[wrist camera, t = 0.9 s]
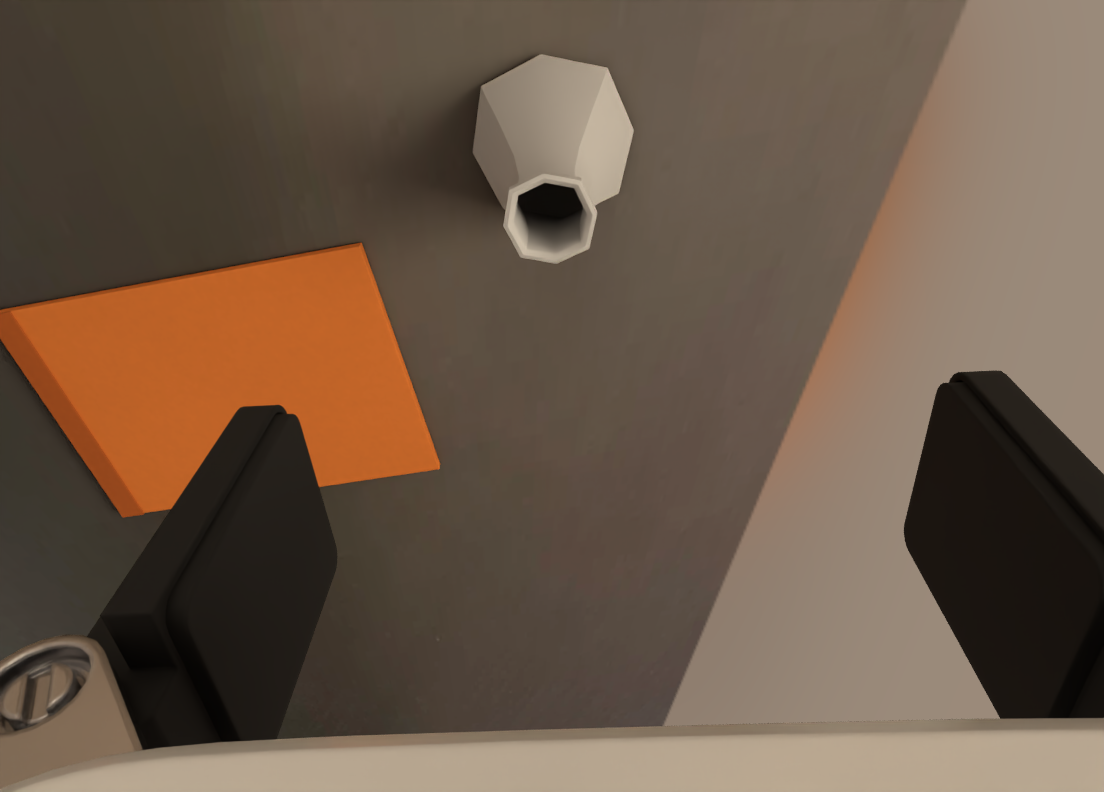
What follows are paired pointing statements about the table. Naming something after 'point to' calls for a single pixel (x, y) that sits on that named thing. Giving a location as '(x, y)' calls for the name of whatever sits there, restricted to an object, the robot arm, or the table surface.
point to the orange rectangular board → (224, 372)
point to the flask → (552, 152)
